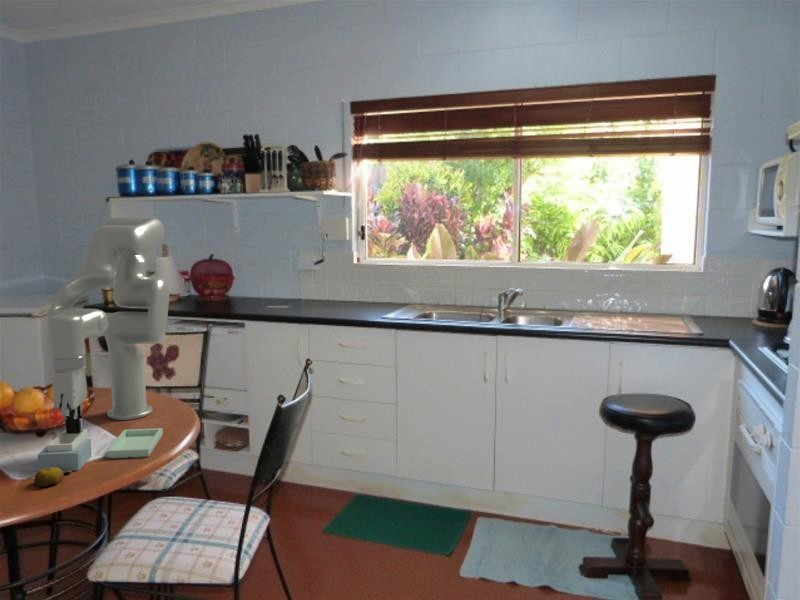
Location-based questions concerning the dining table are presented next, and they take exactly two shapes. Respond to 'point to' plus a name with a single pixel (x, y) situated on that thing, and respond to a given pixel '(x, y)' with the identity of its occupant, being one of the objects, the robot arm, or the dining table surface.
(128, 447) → the tray
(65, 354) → the robot arm
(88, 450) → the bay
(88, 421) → the dining table surface
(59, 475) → the fruit
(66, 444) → the box
